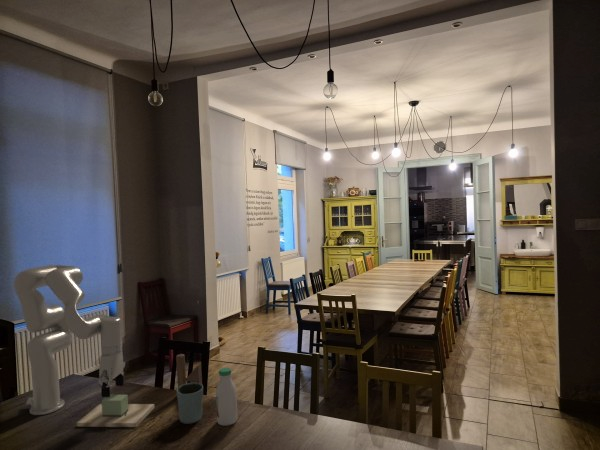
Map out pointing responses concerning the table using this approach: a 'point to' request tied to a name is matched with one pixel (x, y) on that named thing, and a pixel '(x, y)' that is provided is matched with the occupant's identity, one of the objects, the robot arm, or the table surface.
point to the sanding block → (114, 406)
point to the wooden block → (181, 373)
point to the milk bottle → (226, 399)
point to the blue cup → (190, 402)
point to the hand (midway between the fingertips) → (112, 391)
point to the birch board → (127, 420)
